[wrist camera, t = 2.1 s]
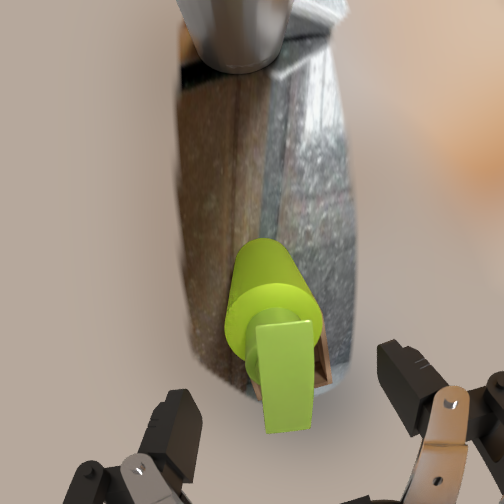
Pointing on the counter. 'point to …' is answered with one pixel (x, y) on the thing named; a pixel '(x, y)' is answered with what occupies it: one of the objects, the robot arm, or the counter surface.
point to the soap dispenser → (275, 332)
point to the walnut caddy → (320, 364)
